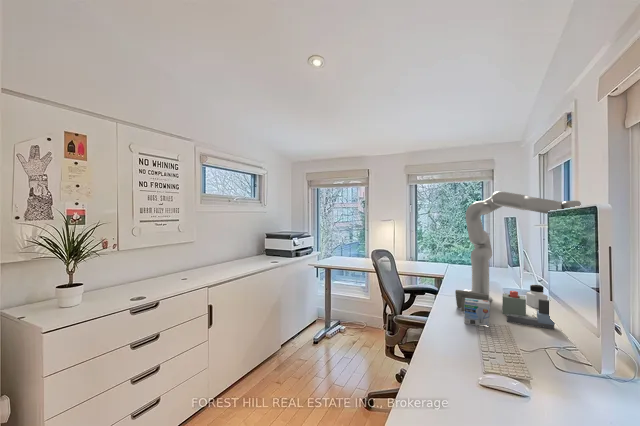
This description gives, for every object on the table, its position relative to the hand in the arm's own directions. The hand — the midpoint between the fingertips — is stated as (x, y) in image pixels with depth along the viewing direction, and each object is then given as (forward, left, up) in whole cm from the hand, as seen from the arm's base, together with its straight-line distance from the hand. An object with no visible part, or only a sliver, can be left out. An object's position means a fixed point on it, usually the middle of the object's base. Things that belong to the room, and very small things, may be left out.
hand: (571, 257), depth 154 cm
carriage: (-13, -30, -27) cm, 43 cm away
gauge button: (-25, -16, -22) cm, 38 cm away
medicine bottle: (-15, +6, -30) cm, 34 cm away
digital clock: (-44, -23, -30) cm, 58 cm away
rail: (-20, -30, -30) cm, 46 cm away
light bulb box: (-41, -42, -30) cm, 66 cm away
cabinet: (-26, -16, -30) cm, 42 cm away
